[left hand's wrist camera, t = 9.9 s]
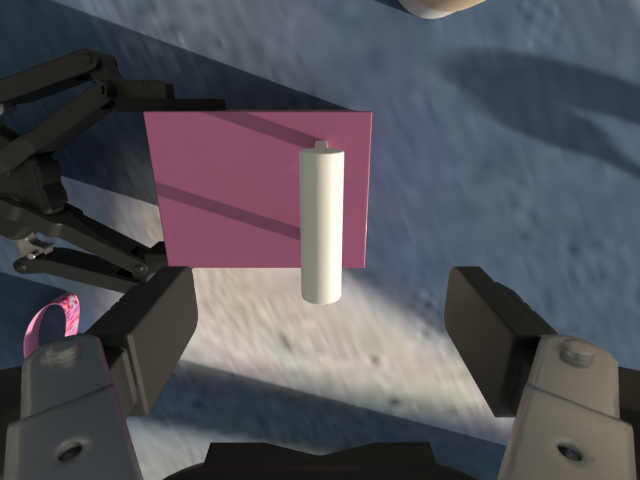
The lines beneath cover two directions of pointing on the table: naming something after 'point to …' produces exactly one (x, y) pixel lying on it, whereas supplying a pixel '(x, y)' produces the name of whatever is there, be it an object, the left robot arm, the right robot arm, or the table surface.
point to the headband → (32, 334)
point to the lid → (264, 191)
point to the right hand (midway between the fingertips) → (227, 183)
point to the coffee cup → (436, 7)
